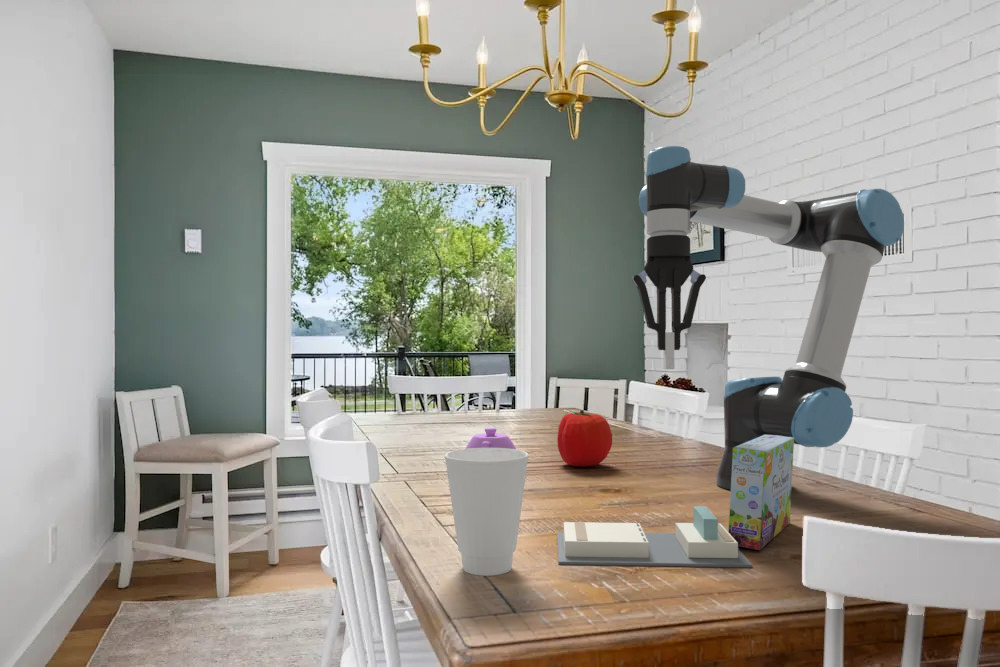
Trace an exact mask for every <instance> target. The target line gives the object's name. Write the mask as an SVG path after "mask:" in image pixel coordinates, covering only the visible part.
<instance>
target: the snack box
mask: <svg viewBox="0 0 1000 667" xmlns="http://www.w3.org/2000/svg"><path fill="white" fill-rule="evenodd" d="M794 447H795V444H794V438H793V437H785V436H778V435H763V436H760V437H758V438H755V439H753V440H751V441H748V442H746V443H743V444H741V445H738V446H736V447H733V455H732V476H731V490H730V495H729V496H730V497H729V498H730V499H729V500H730V501H729V513H728V514H729V517H728V518H729V519H728V530H727V531H728V532H729V534H730V535H731V536H732V537H733V538H734V539H735V540H736V541H737V543H738V547H741V548H746V549H750V550H755V551H756V550H757V551H761V550H762V549H763V548H764V547H765V546H767V545H768V543H770V542H771V541H772V540H773V539H774V538H775V537H776V536H777V535H778V534H779V533H781V532H782V531H783V530H784V529H785V528H786V527H787V526H788V525H789V524H790V523H791V507H792V506H791V504H792V485H793V484H792V483H793V466H794V449H795V448H794Z"/></svg>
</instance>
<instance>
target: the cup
mask: <svg viewBox="0 0 1000 667" xmlns="http://www.w3.org/2000/svg"><path fill="white" fill-rule="evenodd" d="M529 456H530V455H529V453H528V452H526V451H524V450H520V449H517V448H516V449H507V448H469V449H466V448H462V449H454V450H451V451H448V452H446V453H445V455H444V460H445V464H446V465H445V466H446V472H447V473H446V474H447V480H448V485H449V486H448V487H449V493H450V501H451V508H452V515H453V521H454V522H453V523H454V528H455V535H456V543H457V550H458V551H459V553H460V555H461V556H460V557H461V564H462V570H463V572H465V573H467V574H470V575H475V576H483V577H484V576H485V577H486V576H498V575H503V574H506V573H508V572H510V571H511V570H512V568H513V557H514V553H515V552H516V549H517V544H518V535H519V527H520V520H521V513H522V508H523V507H522V506H523V498H524V491H525V483H526V478H527V477H526V474H527V467H528V461H529V458H530V457H529Z"/></svg>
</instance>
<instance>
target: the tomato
mask: <svg viewBox="0 0 1000 667" xmlns="http://www.w3.org/2000/svg"><path fill="white" fill-rule="evenodd" d="M566 411H568V412H570V413H569V414H565V415H563V417H562V418H561V420H560V422H559V425H558V430H557V438H556V439H557V449H558V452H559V456H560V457H561V459H562V461H563V462H564V463H565V464H567V465H568V466H572V467H584V468H585V467H586V468H587V467H593V466H597V465H599V464H601V463H602V462H603V461H604V460H605V459H606V458H607V457H608V455H609V453H610V451H611V450H612V446H613V433H612V430H611V427H610V425H609V422H608V420H607V419H606V418H605V417H604V416H602V415H601V414H598V413H591V412H585V410H584V409H580V410H579V411H578V412H577V411H571V410H567V409H566Z"/></svg>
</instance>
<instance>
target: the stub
mask: <svg viewBox="0 0 1000 667" xmlns="http://www.w3.org/2000/svg"><path fill="white" fill-rule="evenodd" d="M692 508H693V515H692V516H693V517H692V519H693V522H675V533H676V538H677V540H678V541H679V543H680V545H681V546H682V548H683V550H684V551H685V553H686V554H687V556H688V558H738V549H739V546H738V543H737V541H736V540H735V539H734V538H733V537H732V536H731V535H730V534H729V532H728V531H729V530H727V529H726V528H725V526H723V525H722V524H721V522H720V523H719V519H718V518H717V517H716V516H715V515H714V513H713V512H712V511H711V510H710V509H709V507H708V506H704V505H703V506H701V505H700V506H699V505H698V506H697V505H695V506H694V505H693V507H692Z"/></svg>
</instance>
